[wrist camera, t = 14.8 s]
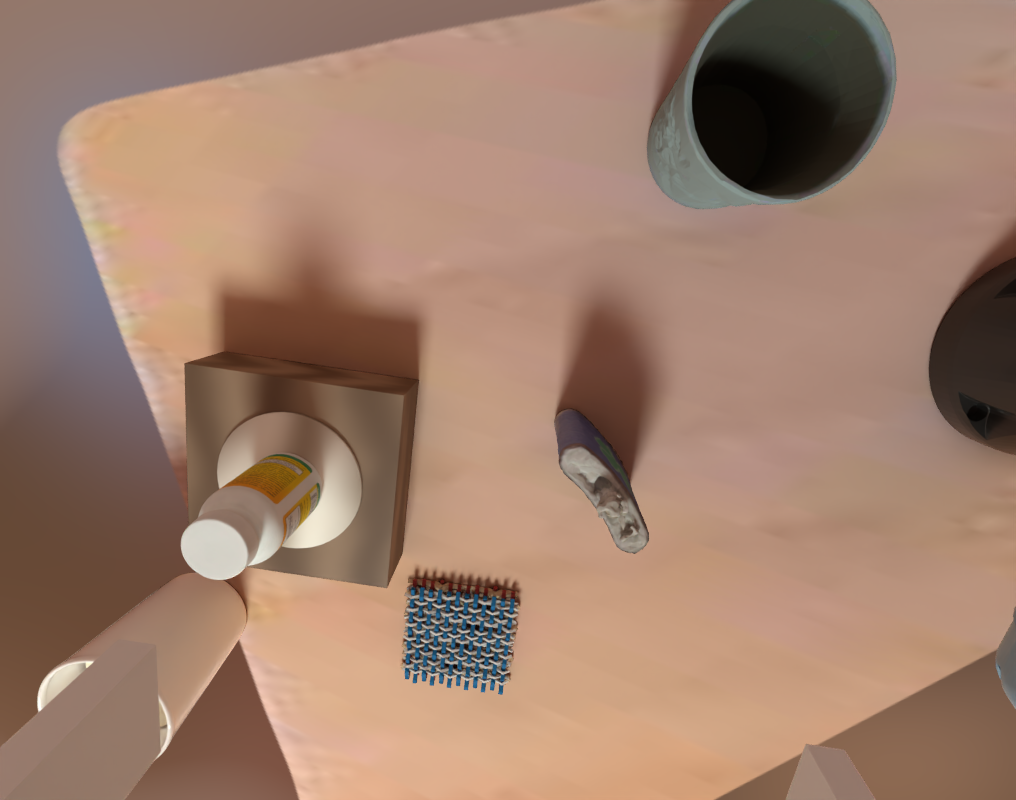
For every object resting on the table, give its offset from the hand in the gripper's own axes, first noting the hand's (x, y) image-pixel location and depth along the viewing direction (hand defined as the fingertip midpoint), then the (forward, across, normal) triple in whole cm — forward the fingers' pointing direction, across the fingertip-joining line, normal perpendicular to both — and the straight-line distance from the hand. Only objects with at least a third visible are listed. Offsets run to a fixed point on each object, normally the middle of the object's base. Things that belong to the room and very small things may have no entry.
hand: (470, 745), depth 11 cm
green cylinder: (+33, -11, -19) cm, 40 cm away
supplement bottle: (+28, +16, +9) cm, 33 cm away
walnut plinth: (+33, +16, +9) cm, 38 cm away
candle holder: (+33, +26, +26) cm, 49 cm away
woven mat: (+34, +2, +24) cm, 41 cm away
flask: (+33, -7, +5) cm, 34 cm away
